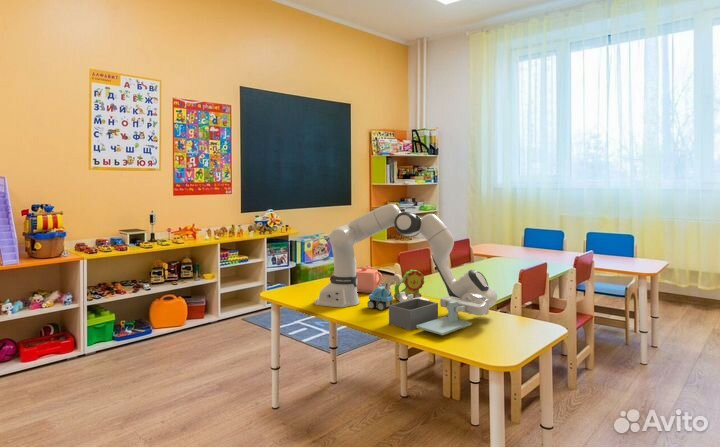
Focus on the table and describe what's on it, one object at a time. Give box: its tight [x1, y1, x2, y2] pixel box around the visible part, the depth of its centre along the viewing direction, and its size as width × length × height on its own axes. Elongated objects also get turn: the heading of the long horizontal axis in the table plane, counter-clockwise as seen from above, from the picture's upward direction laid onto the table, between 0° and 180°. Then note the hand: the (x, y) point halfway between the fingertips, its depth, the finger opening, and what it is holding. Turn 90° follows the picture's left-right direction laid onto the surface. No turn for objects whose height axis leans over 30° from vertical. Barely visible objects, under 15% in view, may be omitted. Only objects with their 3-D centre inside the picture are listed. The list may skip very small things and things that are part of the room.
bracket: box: [399, 291, 431, 303], centre depth 219 cm, size 13×7×8 cm, turn 121°
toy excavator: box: [367, 273, 403, 312], centre depth 216 cm, size 9×17×17 cm, turn 58°
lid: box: [416, 301, 472, 336], centre depth 182 cm, size 13×19×9 cm
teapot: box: [356, 265, 383, 294], centre depth 255 cm, size 20×19×14 cm
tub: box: [388, 298, 439, 331], centre depth 194 cm, size 12×18×8 cm, turn 132°
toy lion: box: [393, 269, 425, 302], centre depth 234 cm, size 16×5×15 cm, turn 108°
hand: (451, 309), depth 185 cm, fingers closed on lid
